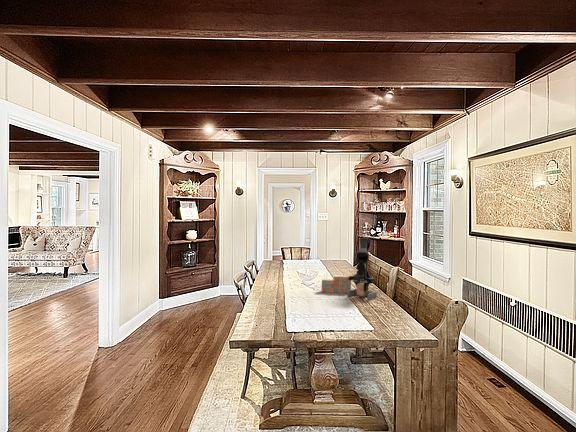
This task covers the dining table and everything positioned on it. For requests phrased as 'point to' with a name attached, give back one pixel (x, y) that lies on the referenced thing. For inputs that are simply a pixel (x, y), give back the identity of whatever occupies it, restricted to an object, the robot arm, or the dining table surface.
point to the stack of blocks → (336, 284)
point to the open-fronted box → (369, 294)
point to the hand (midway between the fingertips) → (361, 291)
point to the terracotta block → (361, 289)
